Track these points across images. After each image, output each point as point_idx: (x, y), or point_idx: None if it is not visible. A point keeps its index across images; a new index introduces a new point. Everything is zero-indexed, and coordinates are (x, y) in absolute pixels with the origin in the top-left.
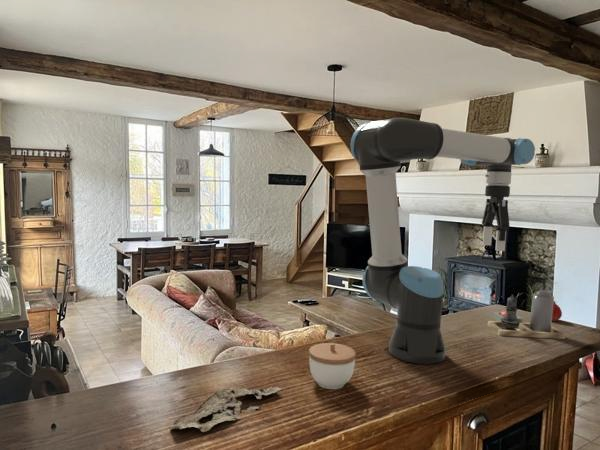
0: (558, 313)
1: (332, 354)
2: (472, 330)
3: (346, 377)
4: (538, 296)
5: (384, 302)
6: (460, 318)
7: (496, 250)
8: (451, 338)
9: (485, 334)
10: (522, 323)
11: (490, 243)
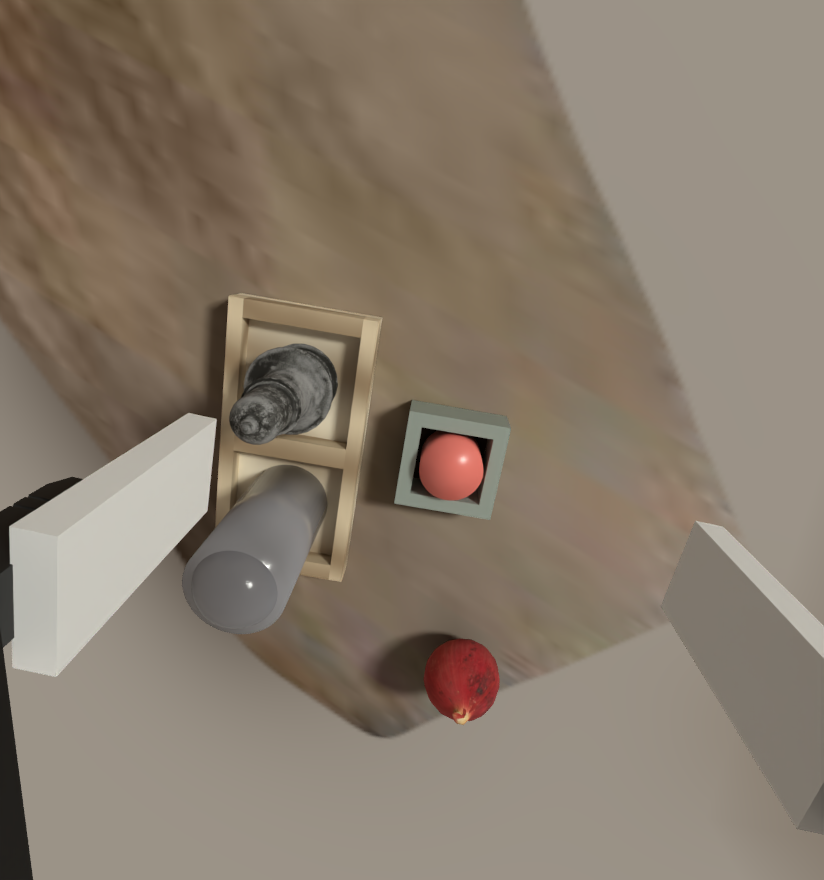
0: (425, 684)
1: None
2: (346, 219)
3: None
4: (212, 553)
5: None
6: (543, 254)
7: (188, 417)
8: (216, 32)
9: (290, 256)
10: (343, 470)
11: (673, 613)
